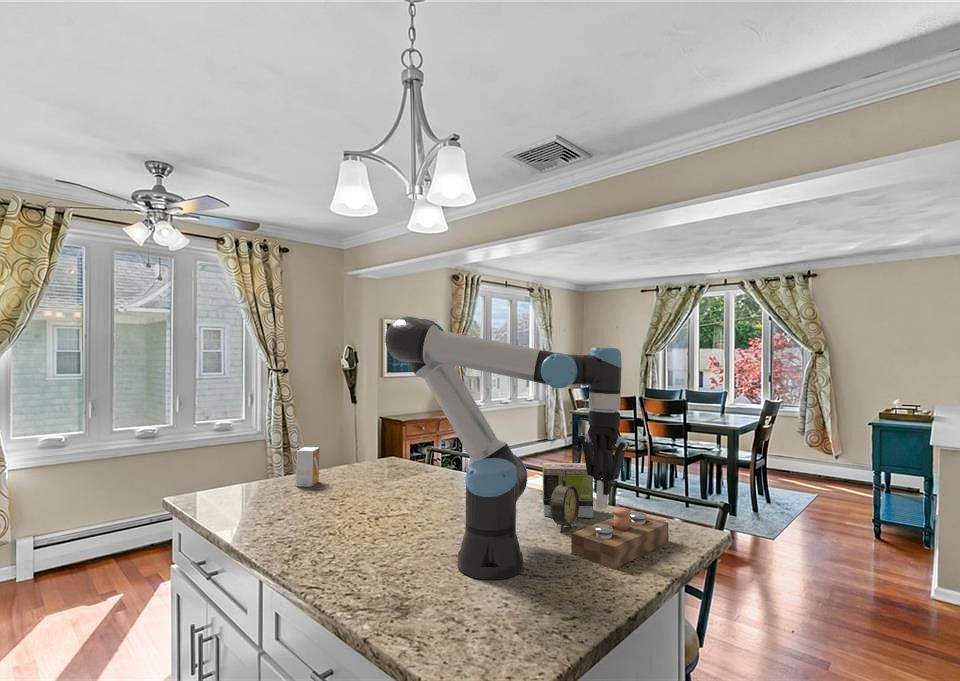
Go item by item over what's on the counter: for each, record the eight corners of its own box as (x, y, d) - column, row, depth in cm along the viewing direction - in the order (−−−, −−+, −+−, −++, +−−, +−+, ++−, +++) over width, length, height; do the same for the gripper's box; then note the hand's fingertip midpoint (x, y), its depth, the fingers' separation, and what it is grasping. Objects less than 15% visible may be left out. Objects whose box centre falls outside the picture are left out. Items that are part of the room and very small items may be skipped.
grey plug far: (641, 537, 132) (641, 518, 132) (626, 533, 135) (626, 514, 135) (649, 533, 135) (649, 514, 135) (634, 529, 138) (634, 511, 138)
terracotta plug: (624, 534, 127) (624, 513, 127) (609, 529, 130) (609, 509, 130) (633, 530, 130) (634, 510, 130) (618, 525, 133) (618, 506, 133)
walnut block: (614, 569, 116) (614, 547, 116) (571, 553, 125) (571, 533, 125) (668, 541, 134) (668, 522, 134) (627, 530, 143) (627, 512, 143)
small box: (312, 487, 185) (313, 450, 186) (295, 486, 185) (296, 450, 186) (319, 481, 193) (320, 446, 194) (302, 481, 193) (303, 446, 194)
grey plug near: (606, 553, 121) (606, 532, 121) (591, 548, 124) (591, 527, 124) (616, 549, 124) (616, 528, 124) (601, 544, 127) (601, 523, 127)
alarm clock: (564, 535, 138) (565, 475, 139) (546, 531, 141) (547, 472, 141) (580, 524, 147) (580, 468, 148) (562, 521, 150) (563, 465, 151)
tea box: (589, 509, 162) (589, 462, 163) (593, 519, 152) (593, 469, 153) (542, 507, 164) (542, 461, 164) (542, 517, 154) (543, 467, 154)
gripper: (636, 412, 123) (634, 510, 122) (590, 406, 133) (588, 498, 132) (619, 414, 118) (617, 516, 117) (573, 408, 127) (570, 503, 127)
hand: (601, 507), depth 125 cm, fingers closed
